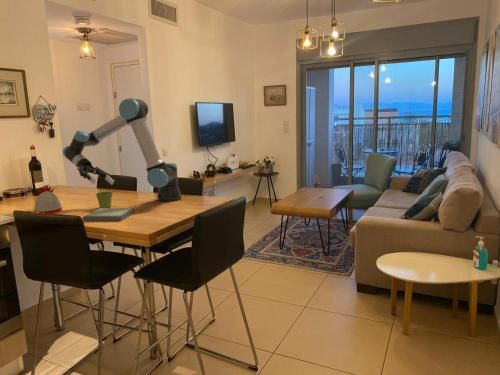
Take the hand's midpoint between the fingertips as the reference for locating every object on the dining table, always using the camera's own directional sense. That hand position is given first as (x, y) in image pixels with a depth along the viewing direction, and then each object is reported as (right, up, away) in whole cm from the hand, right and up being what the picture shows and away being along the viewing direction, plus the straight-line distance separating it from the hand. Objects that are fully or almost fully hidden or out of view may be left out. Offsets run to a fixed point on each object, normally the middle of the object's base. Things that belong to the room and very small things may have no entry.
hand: (104, 182), depth 213 cm
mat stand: (+10, -18, -17) cm, 27 cm away
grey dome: (-31, -17, -2) cm, 35 cm away
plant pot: (-1, -15, +4) cm, 15 cm away
